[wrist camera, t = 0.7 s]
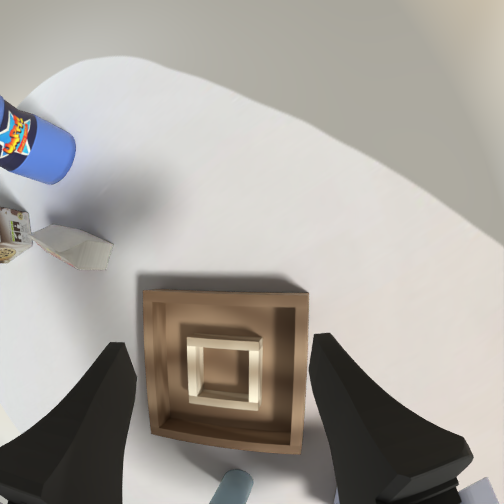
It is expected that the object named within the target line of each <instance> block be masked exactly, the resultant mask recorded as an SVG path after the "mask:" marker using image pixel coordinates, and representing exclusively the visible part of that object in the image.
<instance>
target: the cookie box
mask: <svg viewBox="0 0 504 504" xmlns="http://www.w3.org/2000/svg"><path fill="white" fill-rule="evenodd" d="M29 233H31V230H30V222H29V214H28V213H27V212H22V211H17V210H13V209H9V208H4V207H0V263H9V262H10V261H11V260H13V259H14V258H16V257H17V256H18V255H20V254H21V253H23V252H24V251H25V250H27V249H28V248H30V247H31V246H32V245H33V244H32V239H30V238H28V237H30V236H29V235H28V234H29Z"/></svg>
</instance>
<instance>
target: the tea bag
mask: <svg viewBox="0 0 504 504" xmlns="http://www.w3.org/2000/svg"><path fill="white" fill-rule="evenodd" d="M28 235H29V236H30V237H28V238H30V239H32V240H33V241H35V242H36V243H37V244H38V245H39V246H41V247H42V248H43V249H44V250H45V251H46V252H48V253H50V254H51V255H53V256H55V257H57V258H58V259H60V260H62V261H64V262H65V263H67V264H69V265H71V266H73V267H74V268H76V269H78V270H106V268H107V265H108V261H109V258H110V255H111V251H112V248H113V245H114V244H112V243H109V242H107V241H105V240H103V239H100V238H98V237H96V236H94V235H92V234H89V233H87V232H85V231H83V230H80V229H75V228H70V227H65V226H59V225H54V224H52V225H50V226H48V227H45V228H43V229H41V230H39V231H36V232H33V233H29V234H28Z"/></svg>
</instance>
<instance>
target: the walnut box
mask: <svg viewBox="0 0 504 504" xmlns="http://www.w3.org/2000/svg"><path fill="white" fill-rule="evenodd" d="M308 323H309V293H274V292H226V291H194V290H169V289H154V290H143V325H144V351H145V369H146V384H147V396H148V408H149V418H150V427H151V434H153V435H158V436H162V437H167V438H171V439H176V440H181V441H186V442H192V443H197V444H203V445H209V446H216V447H223V448H230V449H238V450H247V451H256V452H267V453H281V454H300V455H301V448H302V440H303V428H304V413H305V397H306V377H307V354H308Z"/></svg>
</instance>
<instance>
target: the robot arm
mask: <svg viewBox="0 0 504 504" xmlns="http://www.w3.org/2000/svg"><path fill="white" fill-rule="evenodd" d="M309 375H310V381H311V386H312V391H313V395H314V398H315V401H316V404H317V407H318V410H319V413H320V416H321V419H322V422H323V425H324V429H325V432H326V435H327V438H328V441H329V445H330V449H331V454H332V459H333V465H334V470H335V476H336V482H337V488H336V494H335V499H334V504H336V503H339V504H499V501H498V499H497V497H496V494H495V492H494V490H493V488H492V485H491V483H490V481H489V479H488V477H485V478H483V479H481V480H479V481H477V482H475V483H474V484H472V485H470V486H468V487H466V488H464V489H462V490H461V491H459V492H458V491H457V489H456V486H458V485H459V482H458V480H457V478H456V477H457V476H458V475H459V474H460V473H461V472H462V471H463V470H464V469H465V468H466V467H467V466H468V465H469V464H470V463H471V462H472V460H473V458H474V457H473V454H472V452H471V450H470V448H469V446H468V444H467V442H466V440H465V439H464V437H462V436H459V435H457V434H454V433H452V432H450V431H447V430H445V429H443V428H440V427H438V426H437V425H435V424H433V423H431V422H429V421H427V420H425V419H424V418H422V417H420V416H419V415H417V414H415V413H414V412H412V411H411V410H409V409H408V408H406V407H405V406H403V405H402V404H401V403H399V402H398V401H396V400H395V399H394V398H393V397H391V396H390V395H389V394H388V393H387V392H385V391H384V390H383V389H382V388H381V387H380V386H379V385H377V384H376V383H375V382H374V381H373V380H372V379H371V378H370V377H369V376H368V375H367V374H366V373H365V372H364V371H363V370H362V369H361V368H360V367H359V366H358V365H357V363H356V362H355V361H354V360H353V359H352V358H351V357H350V356H349V355H348V353H347V352H346V351H345V350H344V349H343V348H342V346H341V345H340V344H339V343H338V342H337V340H336V339H335V338H334V337H333V336H332V335H331V334H330V333H321V334H314V338H313V345H312V351H311V358H310V364H309ZM136 382H137V376H136V373H135V371H134V368H133V365H132V363H131V360H130V357H129V354H128V352H127V349H126V346H125V343H124V342H110V343H109V344H108V345H107V346H106V348H105V349H104V350H103V351H102V353H101V354H100V355H99V357H98V358H97V359H96V360H95V362H94V363H93V364H92V366H91V367H90V368H89V369H88V371H87V372H86V373H85V374H84V375H83V377H82V378H81V379H80V380H79V382H78V383H77V384H76V385H75V386H74V387H73V389H72V390H71V391H70V392H69V393H68V394H67V395H66V396H65V398H64V399H63V400H62V401H61V402H60V403H59V404H58V405H57V406H56V407H55V408H54V409H53V410H51V411H50V412H49V413H48V414H47V415H46V416H45V417H43V418H42V419H41V420H40V421H39V422H37V423H36V424H35V425H34V426H32V427H31V428H30V429H28V430H27V431H26V432H24V433H23V434H21V435H20V436H18V437H17V438H15V439H14V440H12V441H10V442H9V443H7V444H5V445H3V446H1V447H0V495H1V496H3V497H4V498H5V499H7V500H8V504H122V476H123V459H124V450H125V444H126V439H127V434H128V429H129V425H130V420H131V415H132V411H133V406H134V401H135V393H136ZM0 504H2V503H0Z"/></svg>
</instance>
